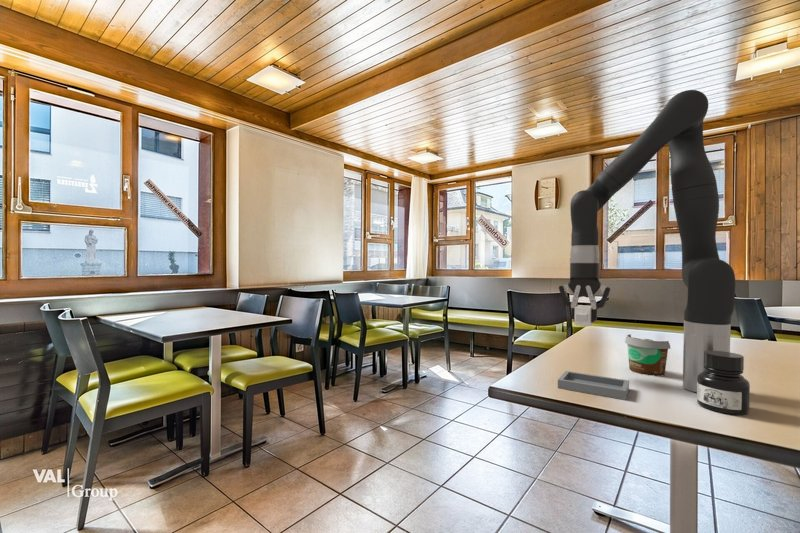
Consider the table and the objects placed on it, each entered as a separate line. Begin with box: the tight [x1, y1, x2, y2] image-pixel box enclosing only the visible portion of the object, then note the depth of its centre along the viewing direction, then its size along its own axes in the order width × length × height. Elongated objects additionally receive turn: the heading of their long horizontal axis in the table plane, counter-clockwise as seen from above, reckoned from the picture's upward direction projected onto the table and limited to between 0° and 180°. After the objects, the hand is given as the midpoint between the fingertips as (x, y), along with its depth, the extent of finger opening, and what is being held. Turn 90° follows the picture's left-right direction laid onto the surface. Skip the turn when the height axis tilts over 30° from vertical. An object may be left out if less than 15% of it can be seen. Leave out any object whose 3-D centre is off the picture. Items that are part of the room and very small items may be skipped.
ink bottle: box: [696, 351, 751, 415], centre depth 86 cm, size 10×9×12 cm
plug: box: [573, 304, 594, 327], centre depth 110 cm, size 4×9×5 cm, turn 147°
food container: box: [624, 333, 672, 377], centre depth 114 cm, size 12×6×10 cm, turn 25°
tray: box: [557, 370, 630, 401], centre depth 98 cm, size 15×10×2 cm, turn 56°
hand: (583, 321), depth 111 cm, fingers closed on plug, 4 cm apart
